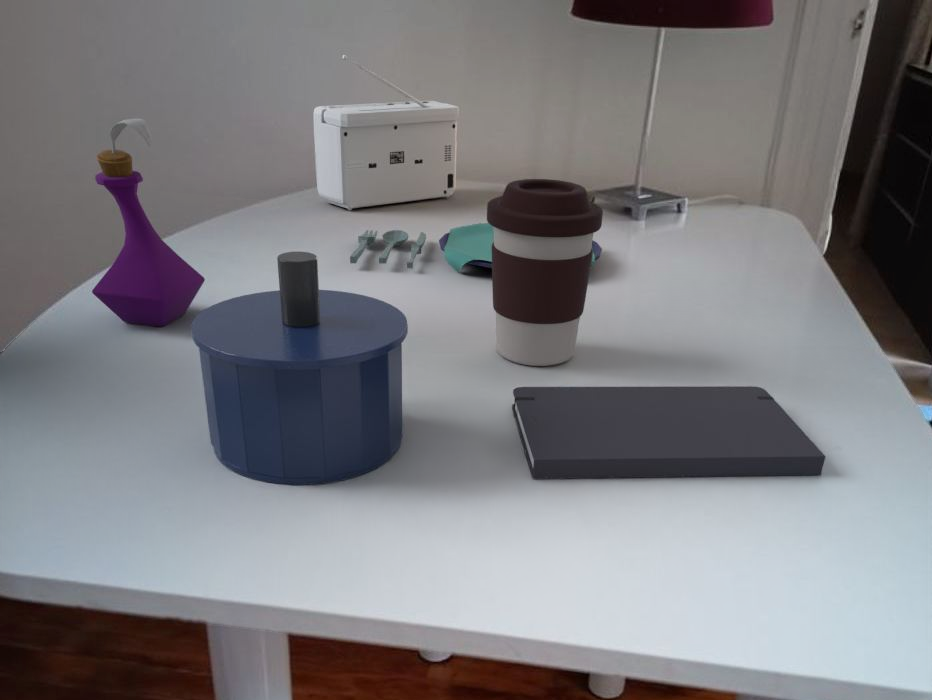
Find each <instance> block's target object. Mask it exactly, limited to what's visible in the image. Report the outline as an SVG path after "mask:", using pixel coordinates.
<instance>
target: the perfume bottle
mask: <svg viewBox="0 0 932 700" xmlns="http://www.w3.org/2000/svg"><path fill="white" fill-rule="evenodd" d="M127 126H129V127H131V128H132V129H134V130H135V131H136V132H137V133H138V134H139V135H140V136H141V137H142V138H143V139H144V141H145V142H146V144H147V146H149V148H150V147H151V145H152V141H153V135H152V132H151V130H150V126H149V125H148V123H147V121H146V120H144V119H142V118H128V119H124V120H121V121H119V122H117V123H115V124H114V125H112V127H111V129H110V131H109V136H110V139H111V149H106V150H102V151H101V152H98V154H97V155H96V160H97V161H98V162H97V163H98V164H99V166H100V169H101V172H99V173H97V174H95V175H94V180H95V182H96V184H97V185H99V186H102V187H103V186H104V188H105V189H106V191H108V192H109V193H110V195H112V197H113V198H114V200H115V202H116V204H117V206H118V209H119V212H120V214H121V218H122V220H123V224H124V225H123V226H124V232H125V235H124V236H125V237H124V245H123V246H122V248H121V250H120V252H119V254H117V257H116V259H115V260H114V262H113V263H112V264H111V266H110V267H109V269H108V270H107V271H105V274H104V275H103V276H102V277H101V279H99V281H98V283H96V285H95V286H94V288H92V290H91V294H93V295H94V297H96V298H97V299H98V300H99V301H101V302H102V304H104V305H105V306H106V307H107V308H108V309H109V310H110V311H111V312H113V314H115V316H116V317H118V318H119V319H120V320H122V321H123V322H124V323H129V324H136V325H143V326H150V327H157V328H163V327H165V326H167V325H168V324H171V323H172V322H174V321H176V320H178V319H179V318H181V317H182V316H184V315H185V314H186V313H187V311H188V310H189V308H190V305H192V304H193V301H194V300H195V298H196V296H197V294H198V293H199V291H200V289H201V288H202V286H203V285H204V282H205V277H204V276H203V275H201V273H199V271H197V270H196V269H195V268H193V266H191V265H190V264H189V263H188V262H187V261H185V260H184V259H183V258H182V257H181V256H180V255H179V254H178V253H177V252H175V250H174V249H172V248H171V247H170V246H169V244H167V243H166V242H165V241H164V240H163V239H162V238H161V237H160V234H158V232H157V231H156V230H155V228H154V227H153V225H152V224H151V222H150V220H149V218H148V216H147V214H146V212H145V211H144V208H143V207H142V204H141V202H140V199H139V196H138V188H139V184H140V183H142V182H144V178H143V176H142V174H141V172H139V171H138V170H133V158H132V155H131V154H130V153H128V152H126V151H125V150H120V149H116V141H117V139H118V138H119V136H120V134H121V133H122V132H123V131H124V130H125V129H126V127H127Z"/></svg>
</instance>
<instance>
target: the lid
mask: <svg viewBox="0 0 932 700" xmlns="http://www.w3.org/2000/svg"><path fill="white" fill-rule="evenodd" d="M276 260H277V261H276V262H277V272H278V285H279V288H278V289H279V290H271V291H262V292H255V293H250V294H245V295H244V294H243V295H240V296H236V297H232V298H229V299H226V300H223V301H220V302H218V303H215V304H213V305H210V306H209V307H206V308H204V309H203V310H202V311H200V312H199V313H197V315H196V316H195V317H194V318H193V320H192V321H191V323H190V335H191V340H192V341H193V343H194V345H195V346H196V347H197V348H198V349H199V348H200V349H201V350H202V351H204V352H205V353H207V354H209V355H211V356H213V357H215V358H218V359H221V360H224V361H227V362H231V363H235V364H239V365H245V366H250V367H258V368H266V369H283V370H302V369H320V368H330V367H338V366H344V365H349V364H354V363H359V362H362V361H366V360H370V359H373V358H376V357H379V356H381V355H383V354H385V353H388V352H390V351H391V350H393V349H395V348H396V347H398V346H399V345H400V344H401V343H403V342H404V341H405V340H406V338H407V335H408V333H409V323H408V319H407V317H406V315H405V314H404V313H403V312H402V311H401V310H400V309H399V308H398V307H396V306H394V305H392V304H391V303H389V302H386V301H384V300H382V299H381V300H380V299H378V298H375V297H371V296H368V295H363V294H359V293H354V292H349V291H342V290H341V291H340V290H332V289H331V290H330V289H320V283H319V269H318V268H319V265H318V256H317V255H316V254H314V253H311V252H309V251H287V252H283V253H280V254H278V256H277V257H276Z"/></svg>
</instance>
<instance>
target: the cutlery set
mask: <svg viewBox="0 0 932 700" xmlns="http://www.w3.org/2000/svg"><path fill="white" fill-rule="evenodd" d="M377 236H378V230H375V231H373V230H370V231H369V229H367V230H365V232H364V233H362V234H361V235H358V237H357V243H359V244H358V246H357V248H356V249H355V250H354V251H353V252H352V253H351V254H350V256H349V263H350V264H357V262H358V260H359V259H360V258H361V256H362V255H363V253H364V251H365V249H366V247H369V246H371V245H373V244H375V241H376V239H377ZM381 237H382V241H383V242H384V243H386V244H387V246H386V247H385V248H384V250H383V251H382V253H381V254H380V255H379V256H378V263H379V264H384V265H385V264H387V262H388V259H389V256H390V254H391V252H392V250H393V248H394V247H395V246H398V245H402V244H405V242H407V241H408V239H409V234H408V232H406V231H405V230H399V229H393V230H389V231H386V232H385V233H383V234H382V235H381ZM426 239H427V234H426V233H425V232H423V231H421V232H420V233H419V236H418V238H417V240H416V242H415V243H413V244H411V248H410V258H409V260H408V261H407V262H406V269H411V270H412V269H414V260H415V258H416V256H417V255H421V254H422V247H424V245H425V242H426V241H427V240H426ZM493 242H494V226H492V225H490V224H489V223H488V222H479V223H473V224H467V225H462V226H459V227H453V228H450V229H449V232H447V233H444V235H442V236H441V238H439V240H438V244H439V247H440V250H441V251H442V252H444V253H443V254H444V259H445V261H446V262H447V264H448V265H449V266H450V267H451V268H452V269H453V270H455V271H456V273H460V272H461V270H462V268H463V266H464V265H465V264H470V265H474V266H479V267H484V268H489V269H492V243H493ZM591 248H592V250H593V256H592V262H591V268H592V267H593V266H594V264H595V261H596V260H598V259H600V257H601V254H602V251H603V248H602V247H601V246H600V244H599V243H598V242H597V241H595V240H592V246H591Z"/></svg>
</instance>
